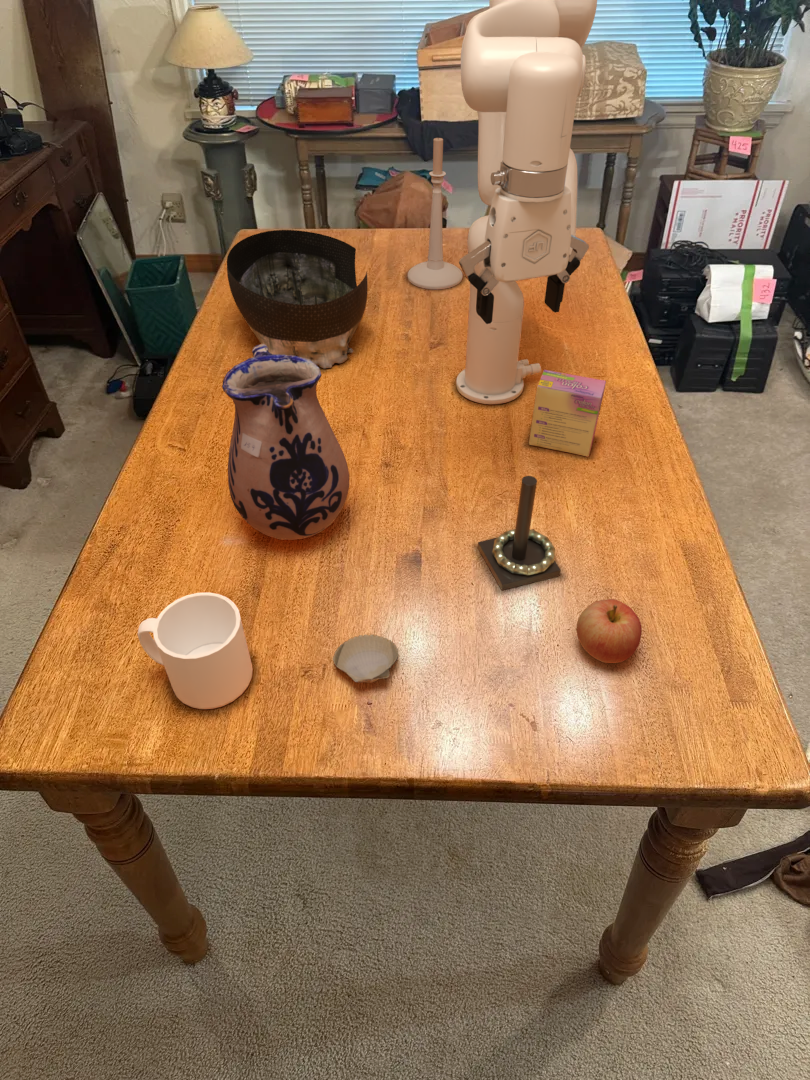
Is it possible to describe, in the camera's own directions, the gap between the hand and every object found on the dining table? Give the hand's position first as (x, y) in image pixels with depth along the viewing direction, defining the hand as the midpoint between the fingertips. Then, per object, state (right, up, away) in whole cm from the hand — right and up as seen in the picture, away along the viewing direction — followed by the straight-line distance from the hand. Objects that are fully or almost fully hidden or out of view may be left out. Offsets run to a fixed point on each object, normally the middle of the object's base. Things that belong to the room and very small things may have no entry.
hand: (518, 313), depth 101 cm
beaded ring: (+2, -32, +8) cm, 33 cm away
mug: (-41, -47, -5) cm, 63 cm away
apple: (+11, -44, -2) cm, 46 cm away
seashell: (-20, -46, -4) cm, 51 cm away
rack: (+1, -33, +9) cm, 34 cm away
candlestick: (-8, +31, +76) cm, 83 cm away
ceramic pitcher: (-33, -26, +17) cm, 45 cm away
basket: (-36, +13, +57) cm, 69 cm away
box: (+12, -13, +30) cm, 35 cm away
